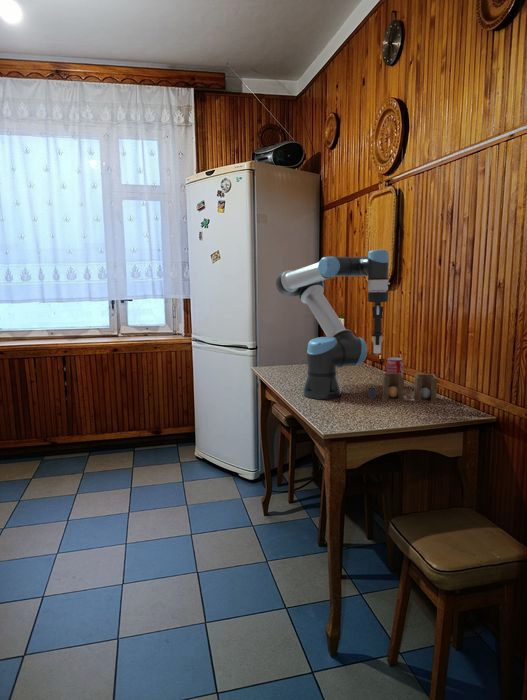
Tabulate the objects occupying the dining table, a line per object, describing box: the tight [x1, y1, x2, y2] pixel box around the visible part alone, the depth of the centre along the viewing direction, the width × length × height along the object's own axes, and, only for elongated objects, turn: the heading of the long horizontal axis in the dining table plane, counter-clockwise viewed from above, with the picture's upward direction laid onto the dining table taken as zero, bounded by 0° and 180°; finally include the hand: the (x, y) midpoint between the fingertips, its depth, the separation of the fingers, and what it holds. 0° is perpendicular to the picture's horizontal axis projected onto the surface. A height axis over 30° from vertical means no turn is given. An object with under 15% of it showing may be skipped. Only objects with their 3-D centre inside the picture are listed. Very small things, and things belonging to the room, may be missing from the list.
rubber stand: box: [367, 387, 377, 399], centre depth 184 cm, size 3×3×4 cm
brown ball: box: [371, 334, 384, 345], centre depth 180 cm, size 4×4×4 cm
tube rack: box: [381, 372, 438, 403], centre depth 181 cm, size 20×7×10 cm, turn 79°
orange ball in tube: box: [389, 386, 398, 398], centre depth 183 cm, size 4×4×4 cm
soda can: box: [385, 356, 404, 375], centre depth 201 cm, size 7×7×13 cm
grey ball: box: [421, 388, 431, 399], centre depth 180 cm, size 4×4×4 cm
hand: (377, 352), depth 181 cm, fingers closed on brown ball, 4 cm apart
